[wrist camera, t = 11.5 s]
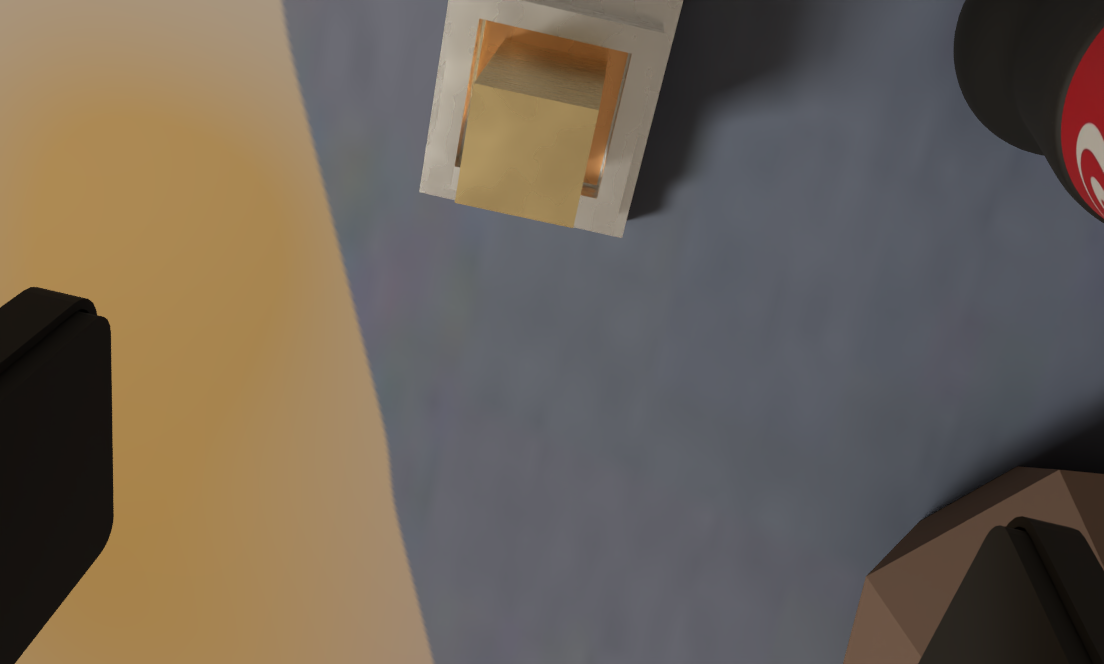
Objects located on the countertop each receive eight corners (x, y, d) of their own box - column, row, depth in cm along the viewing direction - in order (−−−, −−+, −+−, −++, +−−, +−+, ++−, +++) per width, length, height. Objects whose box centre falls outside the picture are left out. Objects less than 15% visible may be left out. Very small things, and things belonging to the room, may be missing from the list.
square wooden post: (504, 38, 39) (473, 83, 32) (607, 61, 39) (598, 110, 32) (488, 139, 41) (454, 202, 34) (585, 161, 41) (573, 227, 34)
